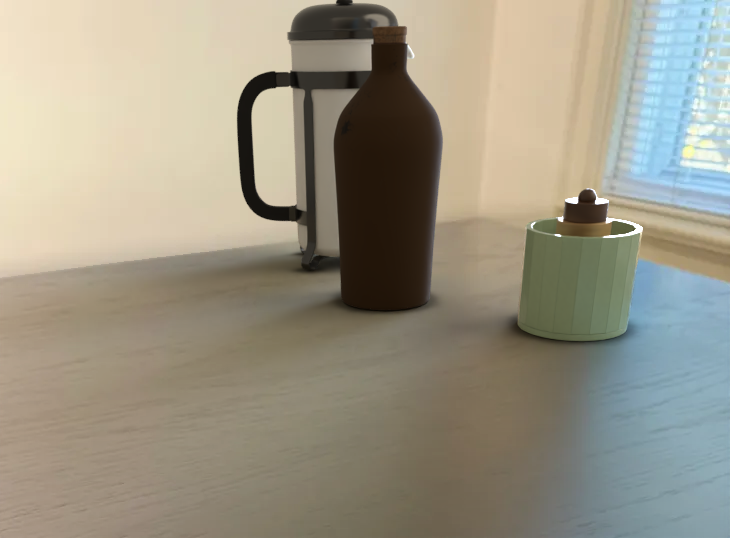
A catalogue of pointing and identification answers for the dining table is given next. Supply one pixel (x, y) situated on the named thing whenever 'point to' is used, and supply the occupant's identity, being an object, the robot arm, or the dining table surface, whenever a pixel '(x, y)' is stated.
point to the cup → (577, 281)
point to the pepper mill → (585, 216)
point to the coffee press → (314, 114)
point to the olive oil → (387, 183)
